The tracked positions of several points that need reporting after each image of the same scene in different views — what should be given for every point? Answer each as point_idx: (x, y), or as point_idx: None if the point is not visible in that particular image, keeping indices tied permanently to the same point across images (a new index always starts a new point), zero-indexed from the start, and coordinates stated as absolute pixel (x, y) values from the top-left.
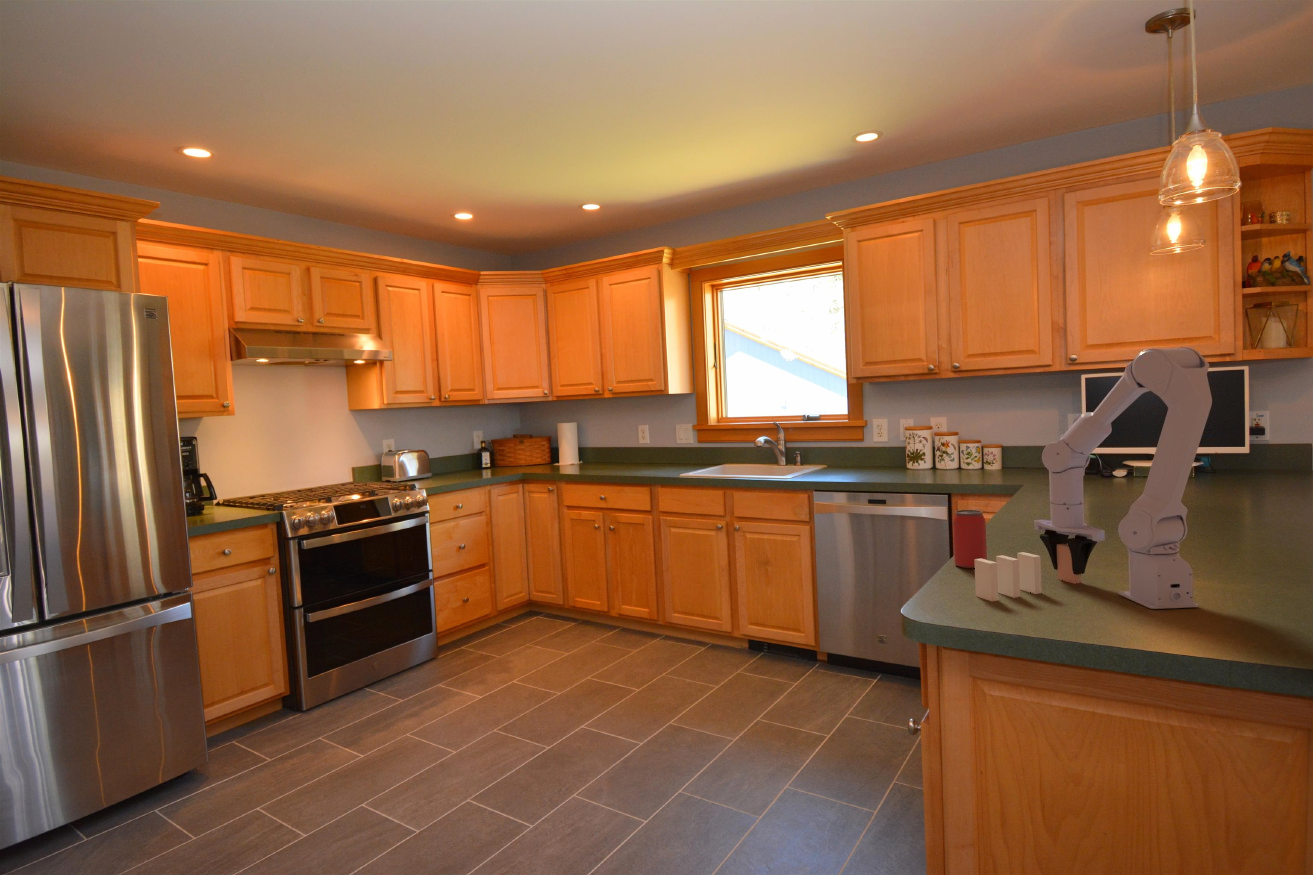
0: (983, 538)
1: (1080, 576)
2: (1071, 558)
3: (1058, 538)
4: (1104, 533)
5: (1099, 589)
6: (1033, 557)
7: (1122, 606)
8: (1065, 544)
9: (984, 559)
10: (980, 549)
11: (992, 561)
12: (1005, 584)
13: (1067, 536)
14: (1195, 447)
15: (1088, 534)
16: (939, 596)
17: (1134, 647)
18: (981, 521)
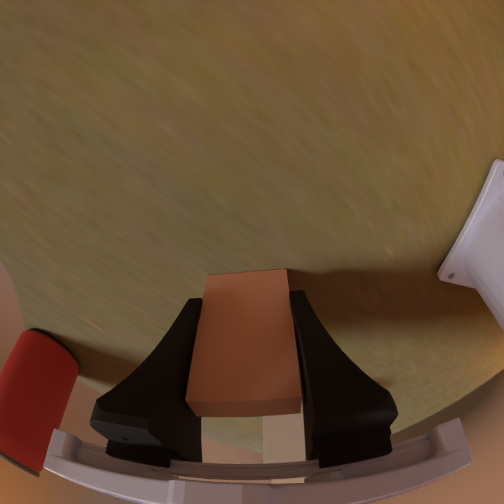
0: (42, 411)
1: (288, 286)
2: (300, 382)
3: (183, 434)
4: (468, 448)
5: (375, 274)
6: None
7: (465, 316)
8: (208, 401)
9: (281, 483)
10: (59, 394)
11: (301, 482)
12: None
13: (160, 414)
14: None
15: (391, 468)
16: (250, 444)
17: (495, 373)
18: (31, 452)
